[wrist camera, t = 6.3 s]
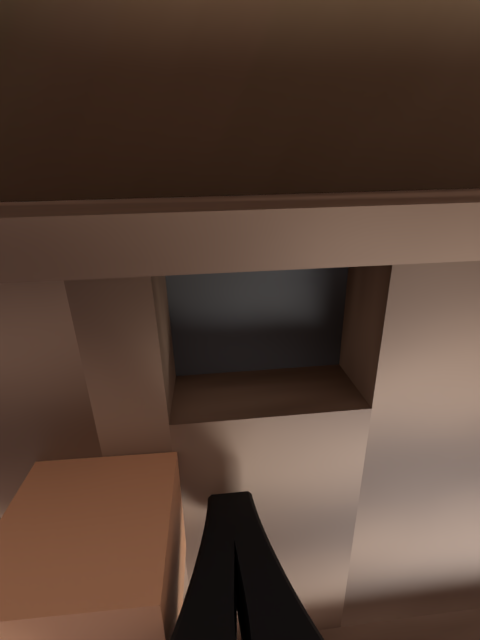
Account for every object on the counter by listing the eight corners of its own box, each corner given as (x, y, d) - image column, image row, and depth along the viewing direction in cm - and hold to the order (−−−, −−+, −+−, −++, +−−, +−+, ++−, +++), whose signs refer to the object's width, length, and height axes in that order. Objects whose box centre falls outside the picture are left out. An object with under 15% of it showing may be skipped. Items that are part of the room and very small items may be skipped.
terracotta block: (186, 544, 12) (176, 712, 8) (63, 556, 11) (-6, 735, 8) (177, 451, 10) (160, 605, 7) (35, 461, 10) (-67, 628, 6)
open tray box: (483, 548, 18) (589, 688, 13) (-130, 622, 16) (-286, 829, 11) (611, 184, 12) (925, 188, 7) (-418, 214, 9) (-1186, 256, 4)
